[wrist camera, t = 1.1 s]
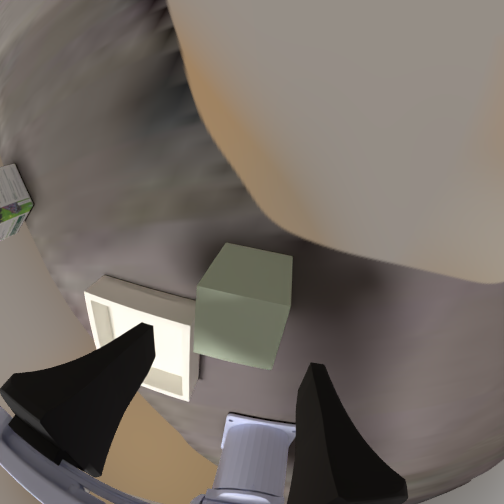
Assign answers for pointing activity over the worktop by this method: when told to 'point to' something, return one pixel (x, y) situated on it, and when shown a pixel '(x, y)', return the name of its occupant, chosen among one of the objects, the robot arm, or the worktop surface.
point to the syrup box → (12, 201)
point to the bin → (164, 323)
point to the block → (243, 306)
